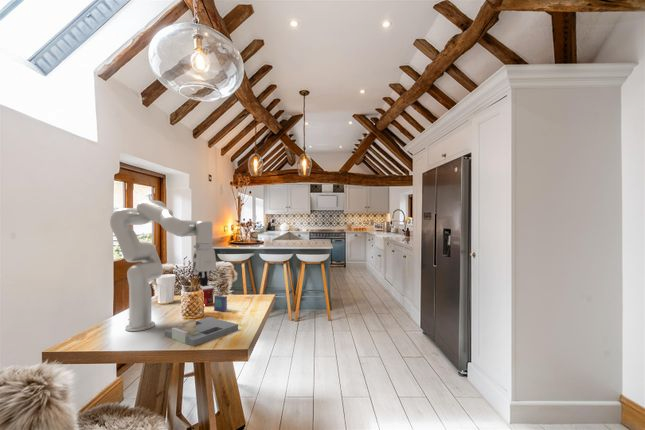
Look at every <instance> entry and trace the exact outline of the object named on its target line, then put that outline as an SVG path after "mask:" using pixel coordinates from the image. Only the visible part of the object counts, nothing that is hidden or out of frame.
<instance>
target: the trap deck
mask: <svg viewBox="0 0 645 430" xmlns="http://www.w3.org/2000/svg"><path fill="white" fill-rule="evenodd" d="M238 330H239V324H238V323H233V322H231V321H226V320H223V319H219V318H215V317H211V316H207V317H204V318H201V319H198V320H196V333H194V334H191V335H188V332H186V331H183V330H182V324H181V325H178V326H175V327H172V328H168V329H164V335H163V336H164V337H167V338H169V339H172V340H174V341H177V342H180V343H183V344H186V345H188V346H192V347H196V346H198V345H201V344H204V343H206V342H209V341H211V340H214V339H217V338H219V337H222V336H224V335H227V334H230V333H233V332H235V331H238Z"/></svg>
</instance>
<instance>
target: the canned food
mask: <svg viewBox="0 0 645 430" xmlns="http://www.w3.org/2000/svg"><path fill="white" fill-rule="evenodd" d="M201 287H202V289H203V291H204V304H205V306H204V307H210V306H214V286H212V285H207V286H201Z"/></svg>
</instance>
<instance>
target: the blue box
mask: <svg viewBox="0 0 645 430" xmlns="http://www.w3.org/2000/svg"><path fill="white" fill-rule="evenodd" d="M222 294H223V292H218V293H217V294H213V311H215V312H222V313H226V312H228V295H222Z"/></svg>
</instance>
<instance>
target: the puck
mask: <svg viewBox="0 0 645 430" xmlns="http://www.w3.org/2000/svg"><path fill="white" fill-rule="evenodd" d="M196 321H197V320H196V319H185V320H182V321H181V325H182V330H183V331H186V332H188V335H191V334H194V333H196Z"/></svg>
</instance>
